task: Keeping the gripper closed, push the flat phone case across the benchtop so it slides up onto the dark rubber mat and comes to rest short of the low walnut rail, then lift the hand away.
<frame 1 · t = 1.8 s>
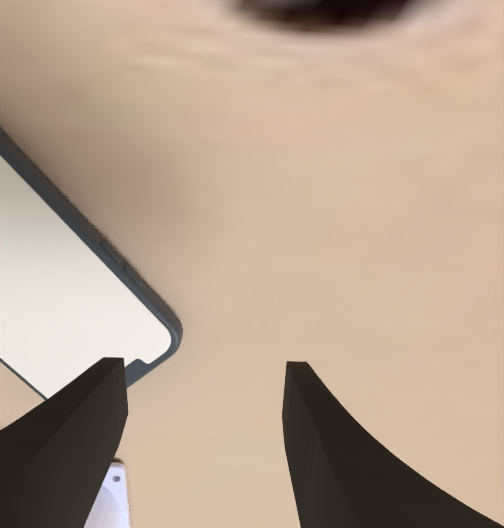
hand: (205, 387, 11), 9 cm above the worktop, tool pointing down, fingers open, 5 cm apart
phone case: (34, 269, 20), on the worktop, touching mat
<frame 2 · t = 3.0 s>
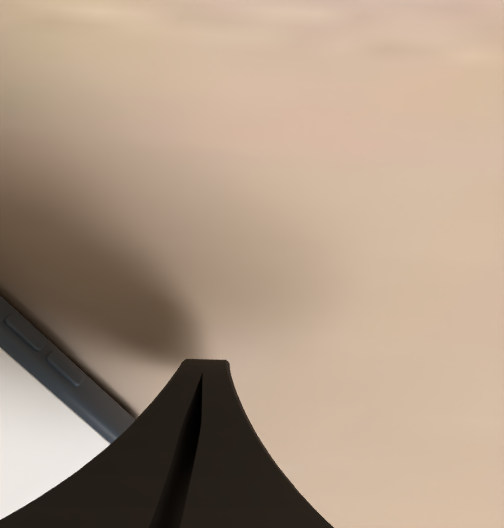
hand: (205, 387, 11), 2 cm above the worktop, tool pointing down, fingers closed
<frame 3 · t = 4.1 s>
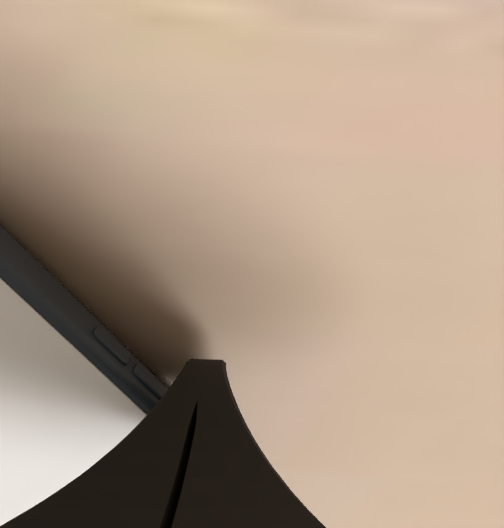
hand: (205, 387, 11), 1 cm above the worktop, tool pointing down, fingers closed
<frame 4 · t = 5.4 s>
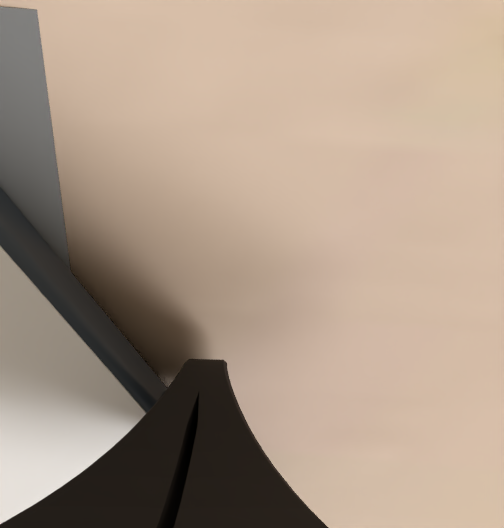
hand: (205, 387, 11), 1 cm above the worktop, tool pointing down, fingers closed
phone case: (41, 410, 13), on the worktop, touching gripper
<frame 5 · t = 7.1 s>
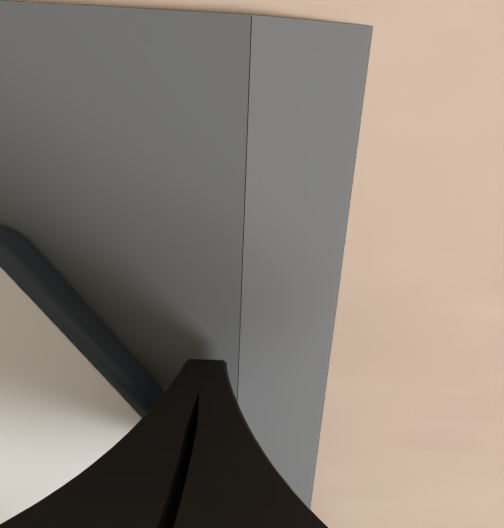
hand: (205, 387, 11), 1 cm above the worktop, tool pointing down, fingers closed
phone case: (85, 456, 13), resting on mat, touching gripper
mat: (12, 365, 12), on the worktop
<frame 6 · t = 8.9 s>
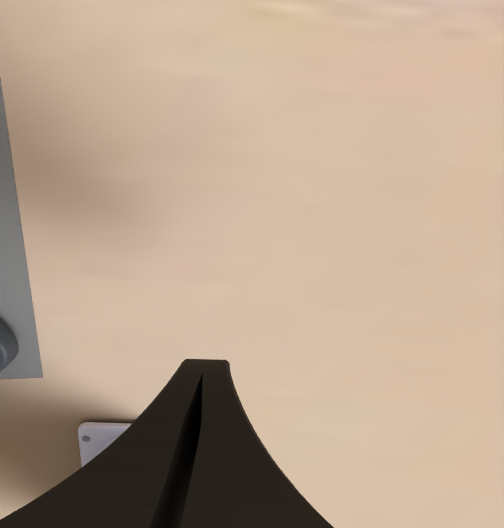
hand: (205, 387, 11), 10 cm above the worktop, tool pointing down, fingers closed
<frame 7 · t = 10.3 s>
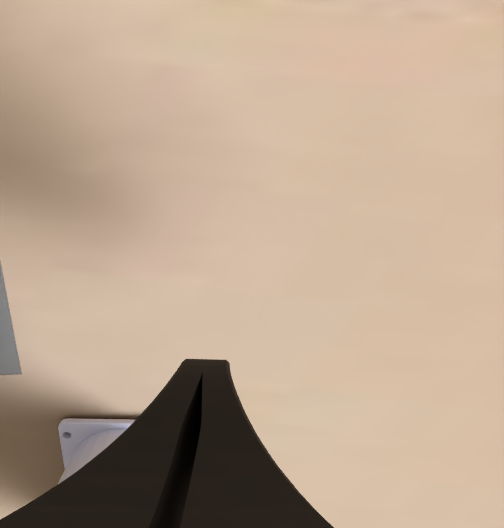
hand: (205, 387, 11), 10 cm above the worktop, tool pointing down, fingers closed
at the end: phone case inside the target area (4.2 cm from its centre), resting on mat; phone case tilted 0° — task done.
